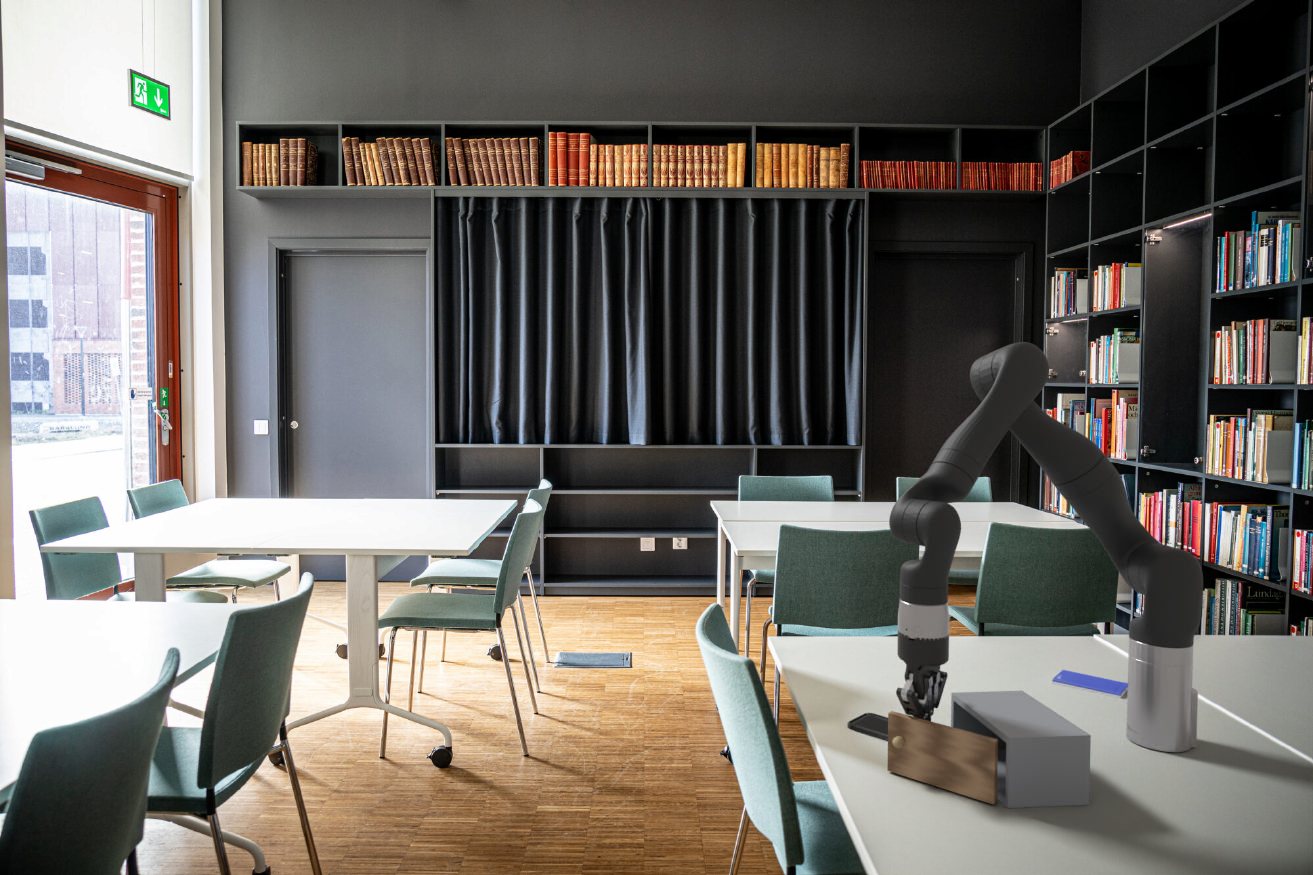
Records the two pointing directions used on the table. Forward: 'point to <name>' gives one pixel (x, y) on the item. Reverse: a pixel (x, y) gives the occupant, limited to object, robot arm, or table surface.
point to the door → (943, 756)
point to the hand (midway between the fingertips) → (921, 738)
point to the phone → (871, 725)
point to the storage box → (1028, 748)
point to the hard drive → (1090, 683)
